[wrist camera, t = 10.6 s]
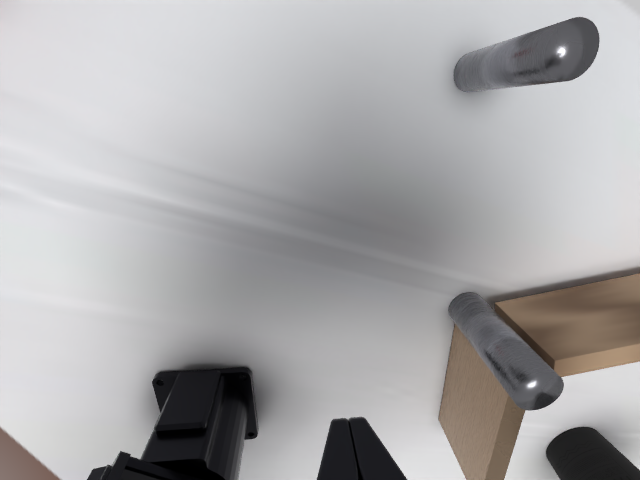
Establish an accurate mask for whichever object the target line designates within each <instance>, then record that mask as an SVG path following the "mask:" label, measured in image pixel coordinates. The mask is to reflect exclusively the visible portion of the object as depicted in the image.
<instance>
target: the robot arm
mask: <svg viewBox="0 0 640 480" xmlns="http://www.w3.org/2000/svg"><path fill="white" fill-rule="evenodd" d="M242 375H246V376H242ZM160 380H162V381H160ZM152 384H153V387H154V391H155V395H156V398H157V402H158V406H159V409H160V415H159V418H158V420H157V422H156V424H155V427H154V430H153V432H152V434H151V437H150V439H149V441H148V443H147V446H146V448H145V450H144V452H143V455H142V457H141V459H137V458H134V457H131V456H130V455H131V454H128V453H125V452H122V451H120V453H119V454H118V456H117V458H116V459H115V461H114V463H113V464H112V466H110V465H107V466H105V467H101V468H96V469H93V470H92V472H91V474H90V475H89V477H88V479H87V480H238V476H239V470H240V464H241V457H242V451H243V445H244V440H246V439H254V438H256V437H257V434H258V424H257V415H256V407H255V399H254V391H253V383H252V374H251V371H250V370H249V369H248V368H228V369H212V370H196V371H180V372H164V373H158V374H156V375H155V377H154V379H153V381H152ZM317 480H407V479H406V477H405V476H404V474H403V473H402V471H401V470H400V468H399V467H398V465H397V464H396V463H395V461H394V460H393V458H392V457H391V455H390V454H389V452H388V451H387V449H386V448H385V446H384V445H383V444H382V442H381V441H380V439H379V438H378V436H377V435H376V433H375V432H374V430H373V429H372V427H371V426H370V424H369V423H368V422H367V420H366V419H365V418H364V417H354V418H349V420H347V419H346V418H340V419H333V420H332V421H331V424H330V429H329V433H328V437H327V441H326V445H325V449H324V453H323V457H322V461H321V465H320V469H319V473H318V477H317Z"/></svg>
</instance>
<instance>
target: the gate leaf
mask: <svg viewBox="0 0 640 480" xmlns="http://www.w3.org/2000/svg"><path fill="white" fill-rule="evenodd" d="M495 312H496V313H497V314H498V315H499V316H500V317H501V318H502V319H503V320H504V321H505V322H506V323H507V324H508V325H509V326H510V327H511V328H512V329H513V330H514V331H515V332H516V333H517V334H518V335H519V336H520V337H521V338H522V339H523V340H524V341H525V342H526V343H527V344H528V345H529V346H530V347H531V348H532V349H533V350H534V351H535V352H536V353H537V354H538V355H539V356H540V357H541V358H542V359H543V360H544V361H545V362H546V363H547V364H548V365H549V366H550V367H551V368H552V369H553V370H554V371H555V372H556V373H557V374H558V375H559V376H560V377H564V376H569V375H574V374H579V373H584V372H589V371H594V370H599V369H604V368H609V367H614V366H619V365H624V364H629V363H634V362H639V361H640V273H639V274H635V275H630V276H625V277H620V278H615V279H610V280H605V281H600V282H595V283H590V284H585V285H580V286H575V287H570V288H565V289H560V290H555V291H550V292H545V293H541V294H536V295H531V296H526V297H521V298H516V299H511V300H506V301H501V302H496V303H495Z"/></svg>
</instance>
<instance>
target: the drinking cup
mask: <svg viewBox="0 0 640 480" xmlns="http://www.w3.org/2000/svg"><path fill="white" fill-rule="evenodd" d="M547 458H548V460H549V462H550V464H551V465H552V467H553V468H554V470H555V472H556V473H557V475H558V476H559V478H560V480H640V470H639V469H638V468H637V467H636V466H634V465H633V464H632V463H631V462H630V461H629V460H628V459H627V458H626V457H625V456H624V455H623V454H621V453H620V452H619V451H618V450H617V449H616V448H615V447H614V446H613V445H612V444H611V443H610V442H608V441H607V440H606V439H605V438H604V437H603V436H602V435H601V434H600V433H599V432H598V431H596V430H594V429H592V428H586V427H582V428H575V429H572V430H569V431H566V432H564V433H562V434H561V435H559V436H558V437H556V438H555V439H554V440H553V441H552V442H551V444H550V445H549V447H548V449H547Z"/></svg>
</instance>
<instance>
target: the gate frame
mask: <svg viewBox="0 0 640 480" xmlns="http://www.w3.org/2000/svg"><path fill="white" fill-rule="evenodd" d="M598 48H599V33H598V30H597V27H596V26H595V24H594V23H593V22H592V21H590V20H589V19H587V18H583V17H576V18H572V19H569V20H566V21H563V22H560V23H557V24H554V25H551V26H548V27H545V28H542V29H539V30H536V31H533V32H530V33H527V34H524V35H521V36H518V37H515V38H512V39H509V40H506V41H503V42H500V43H497V44H494V45H492V46H489V47H486V48H483V49H480V50H477V51H474V52H471V53H468V54H466V55H464V56H463V57H462V58H461V59H460V60H459V61H458V63H457V65H456V67H455V70H454V81H455V83H456V85H457V87H458V88H459V89H460V90H462V91H465V92H473V91H482V90H491V89H500V88H509V87H518V86H527V85H536V84H545V83H554V82H563V81H570V80H573V79H575V78H577V77H579V76H580V75H582V74H583V73H584V72H585V71H586V70H587V69H588V68H589V67H590V66H591V64H592V63H593V61H594V59H595V57H596V55H597V52H598ZM449 315H450V317H451V319H452V320H453V321H454V323H455V326H454V332H453V338H452V343H451V349H450V355H449V361H448V367H447V373H446V378H445V384H444V390H443V396H442V402H441V408H440V414H439V421H440V424H441V426H442V428H443V430H444V432H445V434H446V437H447V439H448V441H449V443H450V445H451V447H452V450H453V452H454V454H455V456H456V458H457V460H458V462H459V465H460V467H461V469H462V471H463V473H464V475H465V478H466V480H504V478H505V475H506V471H507V468H508V465H509V462H510V458H511V455H512V452H513V449H514V445H515V442H516V439H517V435H518V432H519V429H520V426H521V422H522V419H523V416H524V413H525V410H538V409H541V408H544V407H546V406H548V405H550V404H551V403H553V402H554V401H555V400H556V399H557V398H558V397H559V396H560V394H561V393H562V391H563V386H564V383H563V380H562V378H561V377H560V376H559V375H558V374H557V373H556V372H555V371H554V370H553V369H552V368H551V367H550V366H549V365H548V364H547V363H546V362H545V361H544V360H543V359H542V358H541V357H540V356H539V355H538V354H537V353H536V352H535V351H534V350H533V349H532V348H531V347H530V346H529V345H528V344H527V343H526V342H525V341H524V340H523V339H522V338H521V337H520V336H519V335H518V334H517V333H516V332H515V331H514V330H513V329H512V328H511V327H510V326H509V325H508V324H507V323H506V322H505V321H504V320H503V319H502V318H501V317H500V316H499V315H498V314H497V313H496V312H495V311H494V310H493V309H492V308H491V307H490V306H489V305H488V304H487V303H486V302H485V301H484V300H483V299H482V298H481V297H480V296H479V295H478V294H476V293H464V294H461V295H459V296H458V297H456V298H455V299H454V300H453V301H452V302H451V304H450V306H449Z"/></svg>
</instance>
